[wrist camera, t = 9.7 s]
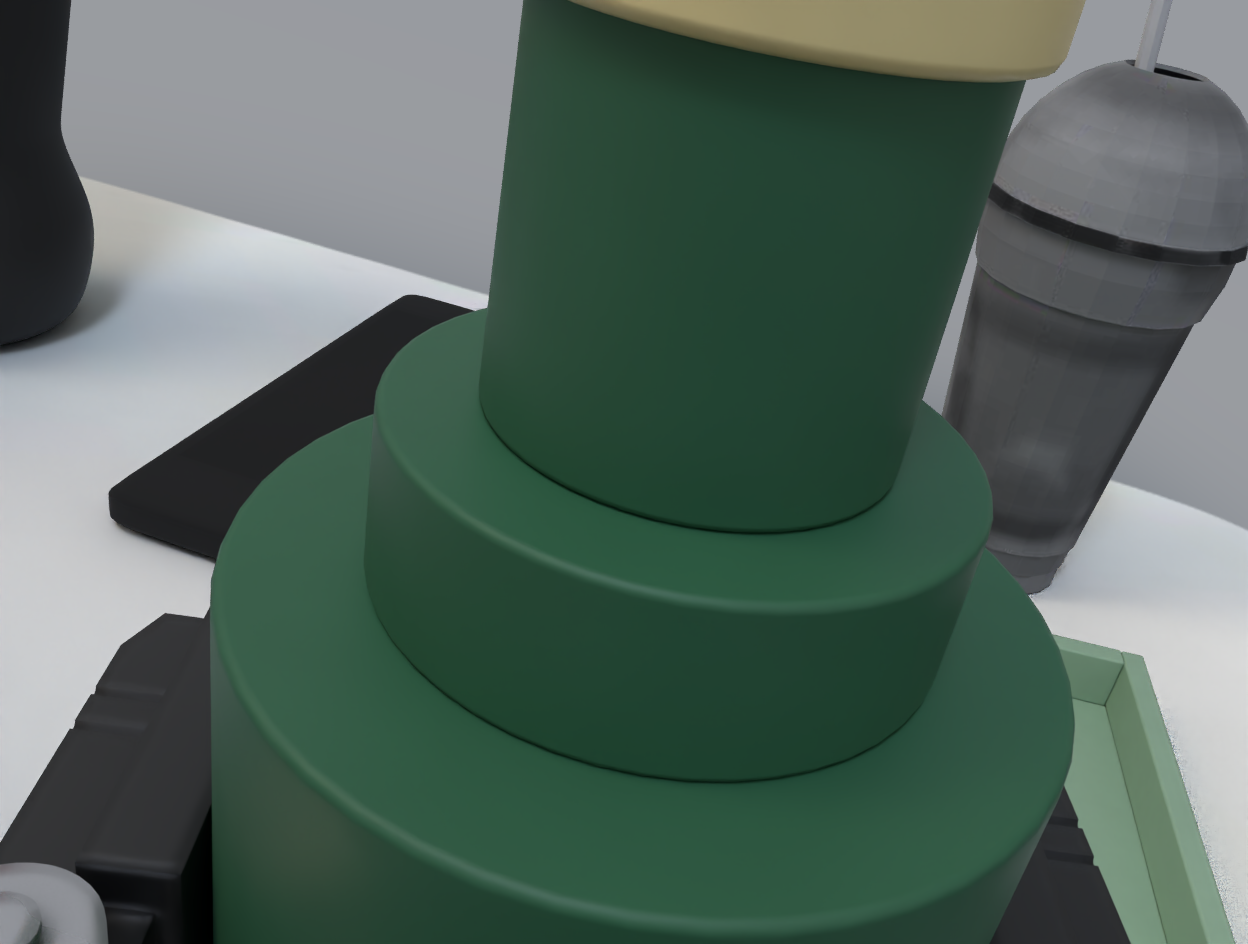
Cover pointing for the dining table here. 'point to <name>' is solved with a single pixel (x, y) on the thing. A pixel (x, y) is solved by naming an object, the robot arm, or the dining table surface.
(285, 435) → the cell phone
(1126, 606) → the dining table surface
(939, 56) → the green bottle
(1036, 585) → the beverage cup
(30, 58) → the cola bottle
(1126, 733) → the tray
